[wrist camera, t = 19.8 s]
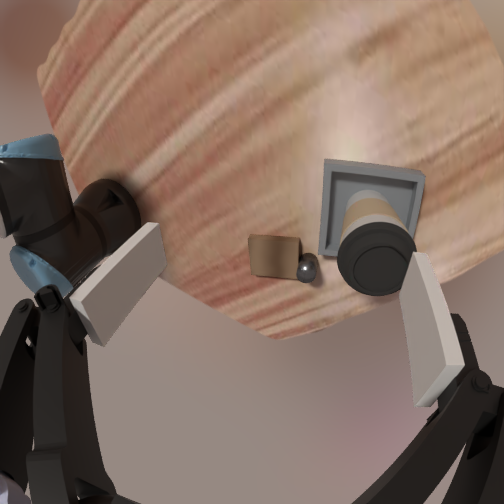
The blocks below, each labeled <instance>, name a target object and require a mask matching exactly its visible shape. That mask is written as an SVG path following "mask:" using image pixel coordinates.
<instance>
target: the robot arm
mask: <svg viewBox="0 0 504 504" xmlns="http://www.w3.org/2000/svg"><path fill="white" fill-rule="evenodd" d="M63 161H64V158H63V157H62V155H61V151H60V147H59V142H58V139H57V138H56V137H55V136H54V135H52V134H44V135H39V136H34V137H30V138H26V139H22V140H19V141H15V142H11V143H8V144H5V145H1V146H0V237H1V238H6V237H7V236H9V235H11V234H13V237H14V239H15V242H16V245H15V246H13V247H12V250H11V251H10V260H11V263H12V265H13V267H14V269H15V271H16V272H17V274H18V276H19V277H20V278H21V280H22V281H23V282H24V283H25V285H26V286H28V288H29V289H30V290H31V291H32V292H34V293H35V296H34V298H35V300H36V302H37V304H38V306H39V307H36V306H35V304H34V302H33V301H32V300H31V299H23V300H21V301H20V302H19V303H18V304H16V306H15V307H14V309H13V311H12V313H11V315H10V317H9V319H8V321H7V323H6V325H5V327H4V330H3V332H2V334H1V336H0V504H31V500H32V504H140V503H137V502H135V501H132V500H130V499H127V498H125V497H123V496H120V495H118V494H117V493H116V489H115V487H114V484H113V482H112V480H111V479H110V478H109V476H108V475H107V473H106V471H105V469H104V465H103V461H102V456H101V452H100V447H99V442H98V438H97V432H96V427H95V421H94V415H93V408H92V400H91V393H90V383H89V373H88V360H87V345H86V340H85V339H84V338H85V336H86V335H87V334H88V335H89V337H90V339H91V340H92V342H93V343H96V344H98V345H101V346H103V347H104V346H105V345H106V344H107V342H108V341H109V340H110V338H111V337H112V336H113V334H114V333H115V331H116V330H117V329H118V327H119V326H120V325H121V323H122V322H123V321H124V320H125V318H126V317H127V316H128V314H129V313H130V312H131V310H132V309H133V308H134V306H135V305H136V304H137V302H138V301H139V300H140V299H141V297H142V296H143V295H144V294H145V292H146V291H147V290H148V288H149V287H150V286H151V284H152V283H153V282H154V281H155V280H156V278H157V277H158V276H159V275H160V273H161V272H162V271H163V270H164V268H165V267H166V266H167V261H166V256H165V251H164V246H163V241H162V236H161V231H160V226H159V223H151V222H147V223H146V224H145V225H144V226H143V227H142V228H141V220H140V214H139V211H138V208H137V206H136V204H135V202H134V200H133V198H132V197H131V195H130V194H129V193H128V192H127V191H126V190H125V189H124V188H123V187H122V186H121V185H120V184H118V183H116V182H114V181H112V180H109V179H99V180H97V181H95V182H93V183H91V184H90V185H88V186H87V187H86V188H85V189H84V190H83V191H82V193H81V194H80V195H79V196H78V198H77V199H76V200H75V202H74V203H73V202H72V198H71V195H70V191H69V186H68V182H67V178H66V173H65V168H64V163H63ZM110 255H111V256H110ZM107 256H110V257H109V258H108V259H107V260H106V261H105V262H104V263H103V264H102V265H100V266H98V267H96V268H94V267H95V266H96V265H97V264H98V263H99V262H100V261H101V260H102V259H104V258H105V257H107ZM93 268H94V269H93ZM92 269H93V270H92ZM85 276H86V278H85ZM80 281H81V283H80ZM73 288H74V289H73ZM69 292H70V293H69ZM68 293H69V294H68ZM67 294H68V295H67ZM66 295H67V296H66ZM64 296H66V297H65V298H64V299H63V297H64ZM399 300H400V305H401V310H402V315H403V321H404V327H405V332H406V339H407V346H408V353H409V361H410V369H411V377H412V378H411V379H412V389H413V402H414V407H431V406H432V405H433V403H434V402H435V401H436V400H438V409H437V410H436V411H435V412H434V413H433V414H432V415H431V416H430V417H429V418H428V419H427V420H428V421H427V423H426V424H425V426H424V427H423V428H422V429H421V431H420V432H419V433H418V435H417V436H416V437H415V438H414V440H413V441H412V442H411V443H410V444H409V446H408V447H407V448H406V449H405V450H404V452H403V453H402V454H401V455H400V456H399V457H398V458H397V459H396V461H395V462H394V463H393V464H392V465H391V466H390V467H389V468H388V469H387V470H386V471H385V472H384V474H383V475H382V476H380V477H379V479H377V481H376V482H374V483H373V484H372V485H371V486H370V487H369V488H368V489H367V490H366V491H365V492H364V493H363V494H362V495H361V496H360V497H358V498H357V499H356V500H355V501H354V502H353V503H352V504H423V503H424V502H425V501H426V499H427V498H428V497H429V495H430V494H431V493H432V492H433V491H434V489H435V488H436V486H437V485H438V484H439V483H440V481H441V480H442V479H443V477H444V476H445V474H446V473H447V472H448V470H449V469H450V467H451V466H452V464H453V463H454V461H455V460H456V458H457V457H458V455H459V453H460V452H461V450H462V448H463V447H464V445H465V444H466V446H465V448H464V452H463V455H462V457H461V460H460V462H459V465H458V468H457V470H456V473H455V475H454V477H453V480H452V482H451V484H450V487H449V489H448V491H447V493H446V495H445V497H444V499H443V502H442V503H441V504H504V388H502V387H499V386H496V385H493V384H492V381H491V379H490V377H489V376H488V375H487V374H486V373H485V372H483V371H481V370H480V369H479V366H478V362H477V359H476V355H475V352H474V349H473V345H472V342H471V339H470V336H469V334H468V330H467V327H466V324H465V322H464V321H463V319H462V318H461V317H460V316H459V314H452V313H451V314H450V313H449V309H448V307H447V304H446V301H445V298H444V295H443V292H442V290H441V287H440V285H439V282H438V279H437V277H436V274H435V272H434V269H433V267H432V265H431V262H430V260H429V258H428V255H427V254H426V253H419V252H413V254H412V257H411V260H410V264H409V267H408V270H407V273H406V276H405V279H404V282H403V285H402V288H401V291H400V293H399ZM27 337H28V338H29V340H30V341H31V344H30V346H28V345H27V343H26V339H27ZM33 439H34V450H33V451H32V445H33ZM466 442H467V443H466ZM28 482H29V489H30V495H31V500H30V498H29V497H28V496H27V495H25V491H26V488H27V483H28ZM77 496H78V497H79V498H80V500H78V498H77Z"/></svg>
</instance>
